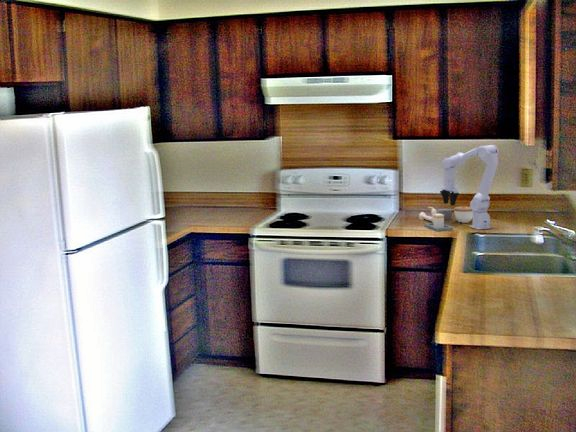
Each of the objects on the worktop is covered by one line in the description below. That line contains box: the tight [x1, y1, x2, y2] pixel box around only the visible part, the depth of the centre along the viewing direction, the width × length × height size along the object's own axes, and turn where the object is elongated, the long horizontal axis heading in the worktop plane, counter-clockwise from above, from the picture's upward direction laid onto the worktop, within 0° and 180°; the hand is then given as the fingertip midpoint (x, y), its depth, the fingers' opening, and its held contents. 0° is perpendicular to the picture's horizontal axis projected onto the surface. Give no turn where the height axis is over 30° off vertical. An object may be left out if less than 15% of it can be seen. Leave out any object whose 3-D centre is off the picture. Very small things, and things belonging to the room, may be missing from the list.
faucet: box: [418, 206, 437, 223], centre depth 421 cm, size 4×18×10 cm, turn 19°
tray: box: [423, 222, 454, 232], centre depth 400 cm, size 15×9×2 cm, turn 17°
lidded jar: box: [453, 204, 473, 224], centre depth 415 cm, size 11×11×9 cm
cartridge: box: [432, 214, 445, 228], centre depth 400 cm, size 4×4×7 cm
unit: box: [435, 208, 454, 222], centre depth 422 cm, size 6×9×6 cm, turn 107°
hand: (449, 204), depth 412 cm, fingers open, 7 cm apart
